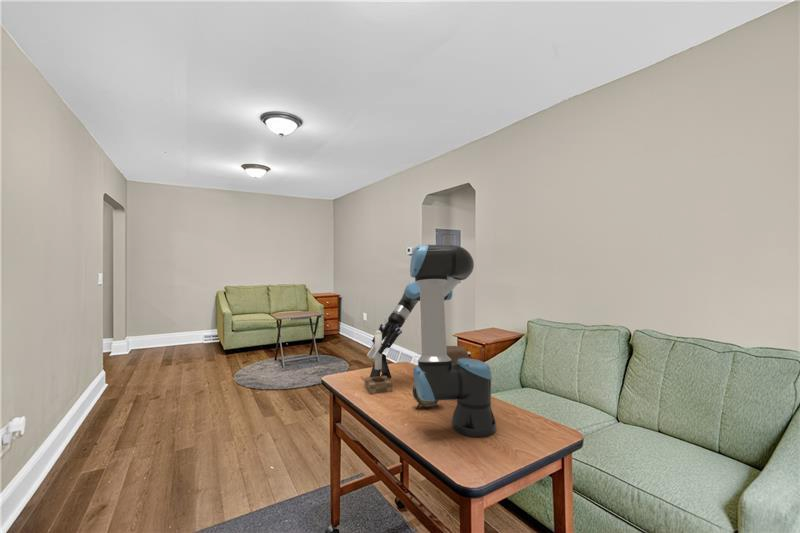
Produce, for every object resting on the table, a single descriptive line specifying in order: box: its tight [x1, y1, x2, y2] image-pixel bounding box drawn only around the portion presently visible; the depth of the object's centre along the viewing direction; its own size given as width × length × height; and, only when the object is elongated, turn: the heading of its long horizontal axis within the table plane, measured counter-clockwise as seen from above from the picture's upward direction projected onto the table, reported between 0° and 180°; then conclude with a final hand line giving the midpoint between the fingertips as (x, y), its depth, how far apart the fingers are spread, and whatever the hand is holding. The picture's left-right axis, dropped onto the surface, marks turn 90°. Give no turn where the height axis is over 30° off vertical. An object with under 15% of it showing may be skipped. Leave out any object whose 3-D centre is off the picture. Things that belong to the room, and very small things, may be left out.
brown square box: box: [364, 375, 393, 395], centre depth 163 cm, size 10×10×4 cm
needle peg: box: [374, 329, 383, 370], centre depth 163 cm, size 3×3×18 cm
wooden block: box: [446, 345, 469, 364], centre depth 157 cm, size 10×10×20 cm
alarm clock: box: [412, 382, 439, 410], centre depth 143 cm, size 11×5×16 cm, turn 102°
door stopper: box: [369, 353, 392, 379], centre depth 178 cm, size 9×6×12 cm, turn 124°
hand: (371, 358), depth 161 cm, fingers closed on needle peg, 3 cm apart
